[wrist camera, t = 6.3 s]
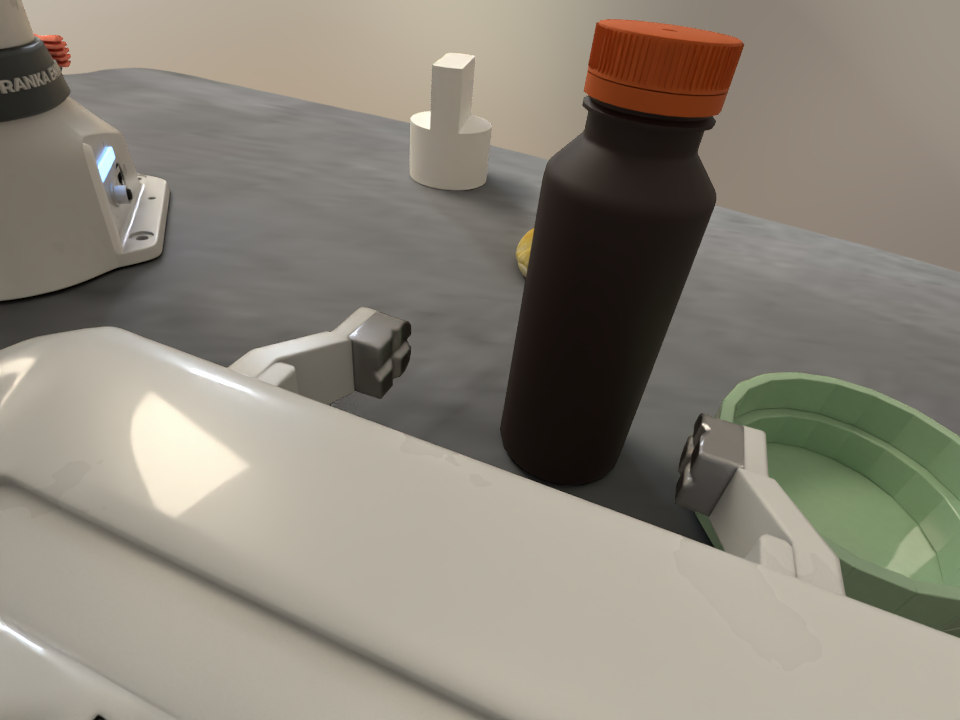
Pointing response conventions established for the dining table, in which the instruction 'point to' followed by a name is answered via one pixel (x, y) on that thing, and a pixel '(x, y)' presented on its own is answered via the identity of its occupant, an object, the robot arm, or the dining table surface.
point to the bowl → (864, 487)
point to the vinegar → (613, 245)
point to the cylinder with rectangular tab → (450, 130)
